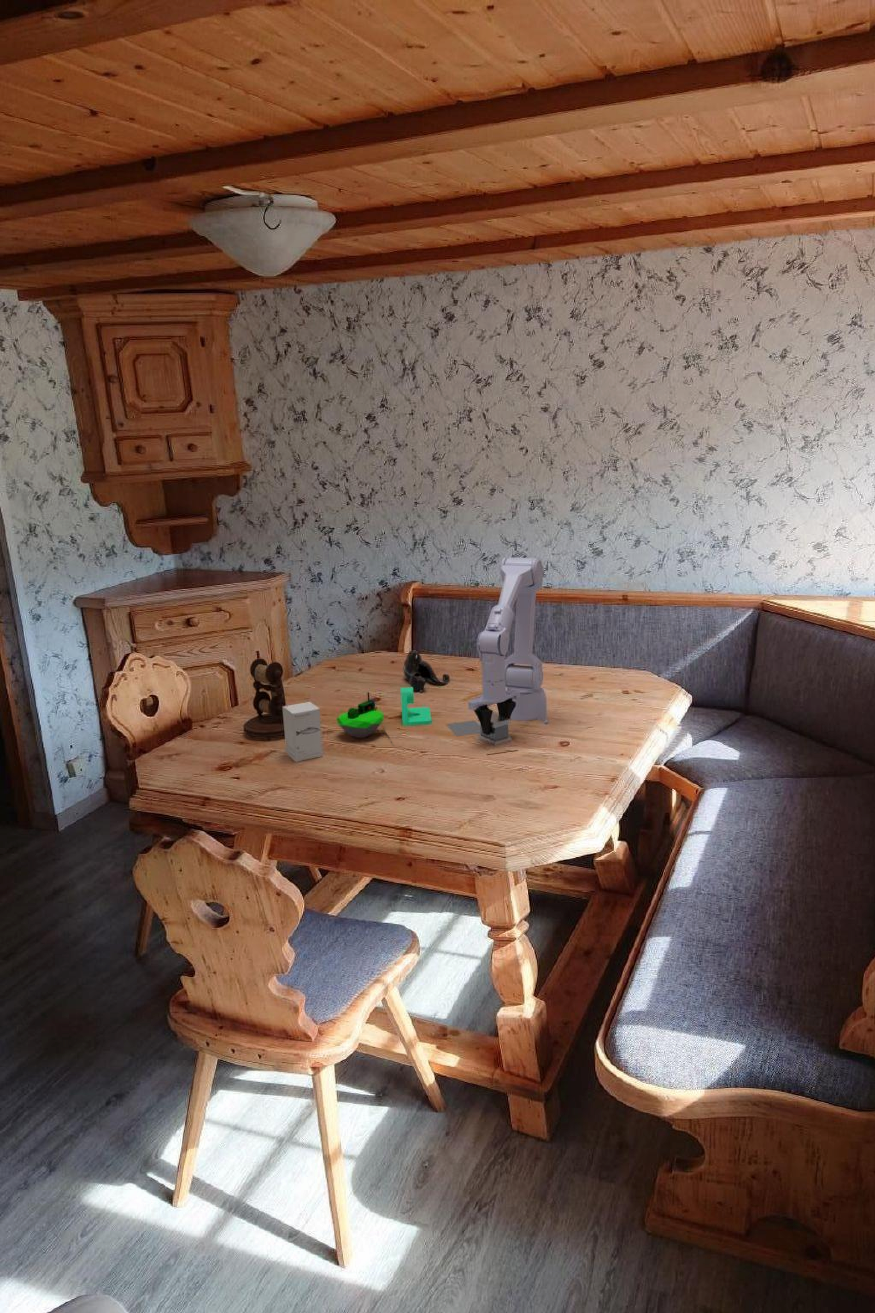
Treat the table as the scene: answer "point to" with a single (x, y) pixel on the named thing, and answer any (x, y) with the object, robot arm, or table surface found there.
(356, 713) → the green floating island model
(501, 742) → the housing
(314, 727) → the supplement box
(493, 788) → the table surface
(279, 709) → the brown upright round-based piece
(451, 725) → the stand
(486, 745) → the stand
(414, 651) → the cat figurine
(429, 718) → the camera mount
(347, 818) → the table surface
